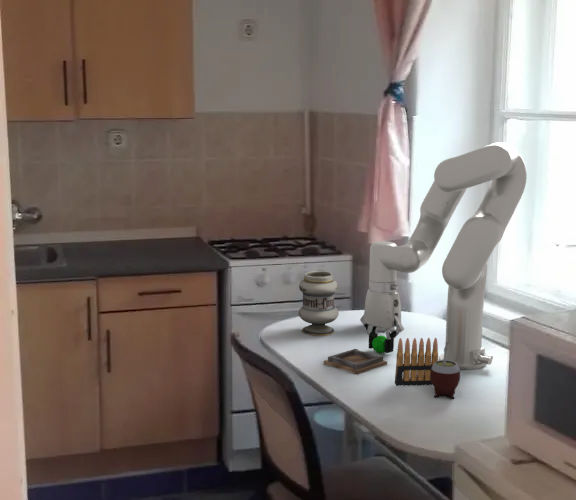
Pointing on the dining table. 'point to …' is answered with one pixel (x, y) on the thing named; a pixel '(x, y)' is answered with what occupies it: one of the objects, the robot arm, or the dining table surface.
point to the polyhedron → (379, 344)
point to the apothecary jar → (318, 302)
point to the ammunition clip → (415, 363)
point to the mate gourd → (445, 377)
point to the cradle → (355, 361)
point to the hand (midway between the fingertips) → (380, 349)
